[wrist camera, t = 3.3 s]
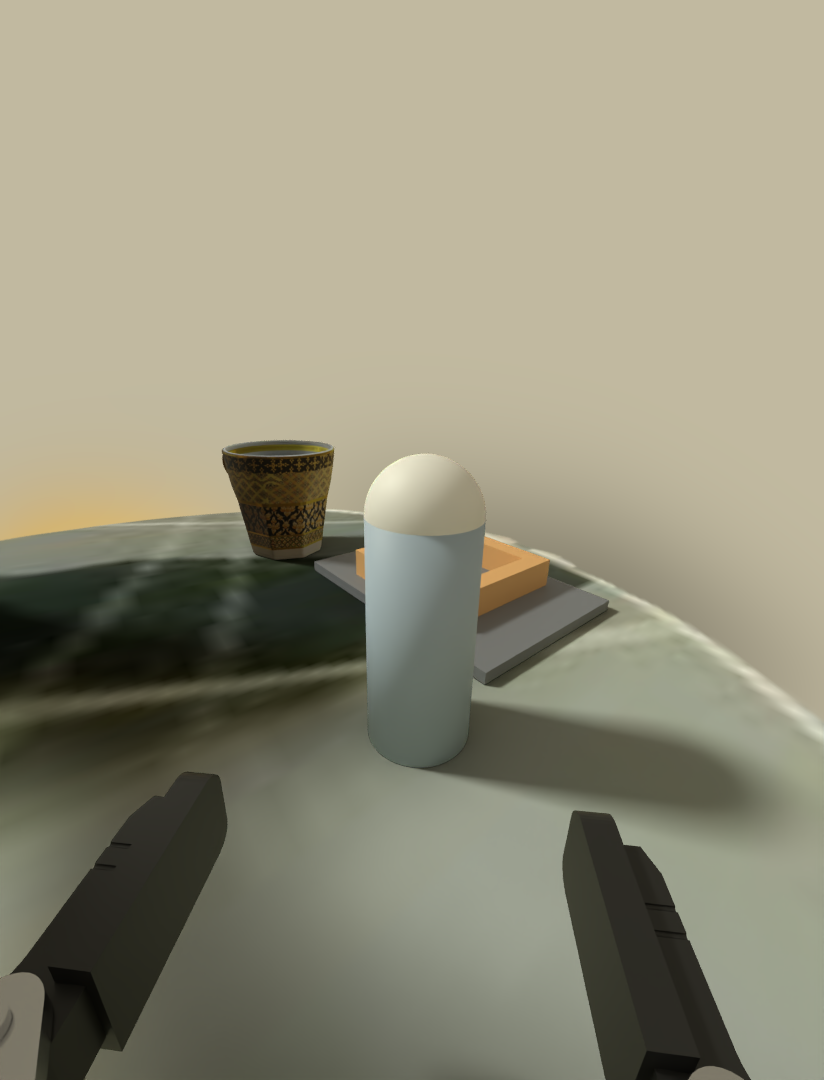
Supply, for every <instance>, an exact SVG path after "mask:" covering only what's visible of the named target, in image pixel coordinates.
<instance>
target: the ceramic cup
mask: <svg viewBox="0 0 824 1080" xmlns="http://www.w3.org/2000/svg"><path fill="white" fill-rule="evenodd" d="M222 454H223V457H222V458H223V459H222V460H223V465H224V468H225V470H226V472H227V473H228V475H229V478H230V482H231V485H232V487H233V490H234V492H235V495H236V497H237V500H238V502H239V506H240V509H241V513H242V516H243V519H244V522H245V526H246V529H247V532H248V535H249V539H250V543H251V545H252V549H253V551H254V553H255V554H256V555H260V556H263V557H267V558H270V559H274V560H279V559H292V558H303V557H306V556H308V555H310V554H312V553H314V552H316V551H318V550H320V548H321V543H322V537H323V526H324V519H325V511H326V503H327V495H328V491H329V486H330V481H331V474H332V467H333V457H334V447H333V446H332V445H329V444H325V443H321V442H312V441H296V440H277V441H257V442H246V443H239V444H234V445H230V446H227V447H225V448H223V449H222Z"/></svg>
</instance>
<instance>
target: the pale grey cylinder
mask: <svg viewBox="0 0 824 1080" xmlns="http://www.w3.org/2000/svg"><path fill="white" fill-rule="evenodd" d="M485 522H486V508H485V501H484V498H483V494H482V492H481V490H480V488H479V486H478V484H477V483H476V481H475V479H474V478H473V477H472V475H471V474H470V473H469V472H468V471H467V470H466V469H465V468H464V467H462V466H461V465H460V464H458V463H457V462H455V461H453V460H451V459H449V458H446V457H443V456H440V455H434V454H415V455H411V456H407V457H404V458H401V459H399V460H397V461H395V462H394V463H392V464H391V465H389V466H388V467H386V468H385V469H384V470H383V471H382V472H381V473H380V474H379V475H378V476H377V478H376V479H375V481H374V482H373V483H372V486H371V488H370V490H369V492H368V494H367V497H366V501H365V506H364V548H365V601H366V653H367V706H368V734H369V738H370V741H371V743H372V744H373V746H374V748H375V749H376V750H377V751H378V752H379V753H380V754H381V755H382V756H384V757H385V758H387V759H388V760H390V761H392V762H394V763H397V764H399V765H403V766H407V767H416V768H423V767H432V766H436V765H440V764H443V763H445V762H447V761H449V760H451V759H452V758H454V757H455V756H456V755H457V754H458V753H459V752H460V751H461V750H462V749H463V747H464V746H465V744H466V741H467V738H468V731H469V719H470V707H471V694H472V682H473V670H474V658H475V646H476V633H477V621H478V609H479V597H480V585H481V572H482V560H483V548H484V536H485Z"/></svg>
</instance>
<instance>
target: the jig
mask: <svg viewBox="0 0 824 1080" xmlns="http://www.w3.org/2000/svg"><path fill="white" fill-rule="evenodd" d="M549 562H550V560H549V559H546V558H543V557H540V556H538V555H535V554H532V553H529V552H526V551H524V550H521V549H518V548H515V547H513V546H510V545H507V544H504V543H501V542H499V541H496V540H493V539H490V538H487V537H485V536H484V548H483V560H482V572H481V585H480V597H479V609H478V621H477V633H476V646H475V658H474V670H473V677H474V678H475V679H477V680H478V681H480V682H481V683H483V684H484V685H485V684H487V683H489V682H490V681H492V680H493V679H495V678H497V677H498V676H500V675H502V674H503V673H505V672H506V671H508V670H510V669H511V668H513V667H515V666H516V665H518V664H520V663H521V662H523V661H524V660H526V659H528V658H529V657H531V656H533V655H534V654H536V653H537V652H539V651H541V650H542V649H544V648H546V647H547V646H549V645H551V644H552V643H554V642H555V641H557V640H559V639H560V638H562V637H564V636H565V635H567V634H568V633H570V632H572V631H573V630H575V629H577V628H578V627H580V626H582V625H583V624H585V623H586V622H588V621H590V620H591V619H593V618H595V617H596V616H598V615H599V614H601V613H603V612H604V611H606V610H607V608H608V603H609V600H606V599H604V598H601V597H599V596H596V595H594V594H591V593H589V592H586V591H583V590H581V589H578V588H576V587H573V586H571V585H568V584H566V583H563V582H560V581H558V580H555V579H553V578H550V577H548V569H549ZM314 565H315V570H316V571H317V572H319V573H320V574H322V575H323V576H325V577H326V578H328V579H329V580H331V581H332V582H333V583H335V584H336V585H338V586H339V587H341V588H342V589H344V590H345V591H347V592H348V593H350V594H351V595H353V596H354V597H356V598H357V599H359V600H360V601H362V602H363V603H365V604H366V601H365V548H361V549H357V550H356V551H353V552H349V553H345V554H341V555H338V556H334V557H330V558H326V559H322V560H319V561H315V562H314Z"/></svg>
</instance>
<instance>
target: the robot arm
mask: <svg viewBox="0 0 824 1080" xmlns="http://www.w3.org/2000/svg"><path fill="white" fill-rule="evenodd" d="M226 832H227V815H226V809H225V803H224V798H223V792H222V786H221V781H220V778H219V776H218V775H215V774H205V773H194V772H184V773H182V774H181V775H180V776H179V777H178V778H177V779H176V781H175V782H174V784H173V785H172V786H171V788H170V789H169V791H168V792H167V794H166V795H165V797H160V796H153V797H152V798H151V799H150V800H149V801H147V802H146V803H145V804H144V805H143V806H141V807H140V808H139V809H138V810H137V811H135V812H134V813H133V814H132V815H131V816H130V817H129V818H128V819H127V821H126V822H125V823H124V825H123V826H122V827H121V829H120V830H119V831H118V833H117V834H116V835H115V837H114V838H113V840H112V841H111V844H110V846H109V847H107V848H106V849H105V850H104V852H103V853H102V854H101V856H100V857H99V858H98V860H97V861H96V863H95V866H94V868H93V869H90V871H89V872H88V873H87V875H86V876H85V877H84V879H83V880H82V881H81V883H80V884H79V886H78V887H77V888H76V890H75V891H74V892H73V894H72V895H71V896H70V898H69V899H68V900H67V902H66V903H65V904H64V906H63V907H62V909H61V910H60V911H59V913H58V914H57V915H56V917H55V918H54V919H53V921H52V922H51V923H50V925H49V926H48V927H47V929H46V930H45V932H44V933H43V934H42V936H41V937H40V938H39V940H38V941H37V942H36V944H35V945H34V946H33V948H32V949H31V950H30V952H29V953H28V954H27V956H26V957H25V958H24V959H23V961H22V962H21V963H20V964H19V965H18V966H17V967H16V968H15V970H14V971H13V972H12V973H11V974H10V975H7V976H5V977H2V978H0V1080H85V1076H86V1074H87V1072H88V1071H89V1069H90V1067H91V1065H92V1063H93V1061H94V1059H95V1057H96V1055H97V1053H98V1052H99V1050H100V1048H102V1049H108V1050H115V1051H123V1049H124V1046H125V1044H126V1042H127V1040H128V1038H129V1036H130V1034H131V1032H132V1030H133V1028H134V1026H135V1024H136V1022H137V1020H138V1018H139V1016H140V1014H141V1012H142V1010H143V1008H144V1006H145V1004H146V1002H147V1000H148V998H149V996H150V994H151V992H152V990H153V988H154V986H155V984H156V982H157V980H158V977H159V975H160V973H161V971H162V969H163V967H164V965H165V963H166V961H167V959H168V957H169V955H170V953H171V951H172V949H173V947H174V945H175V943H176V941H177V939H178V937H179V935H180V933H181V931H182V929H183V927H184V925H185V923H186V921H187V919H188V917H189V915H190V913H191V910H192V908H193V906H194V904H195V902H196V900H197V898H198V896H199V894H200V892H201V890H202V888H203V886H204V884H205V882H206V880H207V878H208V876H209V874H210V872H211V870H212V868H213V866H214V864H215V862H216V860H217V858H218V856H219V854H220V851H221V849H222V847H223V844H224V841H225V837H226ZM563 881H564V888H565V894H566V898H567V903H568V908H569V912H570V917H571V921H572V926H573V931H574V935H575V940H576V945H577V949H578V954H579V959H580V963H581V968H582V972H583V977H584V982H585V986H586V991H587V996H588V1000H589V1005H590V1010H591V1014H592V1019H593V1024H594V1028H595V1033H596V1037H597V1042H598V1047H599V1051H600V1056H601V1061H602V1065H603V1070H604V1075H605V1079H606V1080H751V1079H750V1078H749V1076H748V1074H747V1072H746V1071H745V1069H744V1067H743V1065H742V1064H741V1062H740V1059H739V1057H738V1055H737V1053H736V1051H735V1048H734V1046H733V1044H732V1041H731V1039H730V1037H729V1034H728V1032H727V1029H726V1027H725V1025H724V1022H723V1020H722V1017H721V1015H720V1013H719V1010H718V1008H717V1005H716V1003H715V1001H714V998H713V996H712V993H711V991H710V989H709V986H708V984H707V981H706V979H705V977H704V974H703V972H702V969H701V967H700V965H699V962H698V960H697V958H696V955H695V953H694V950H693V948H692V946H691V943H690V941H689V940H688V939H687V937H686V931H685V929H684V926H683V924H682V922H681V919H680V917H679V914H678V913H677V912H676V911H675V905H674V902H673V900H672V898H671V895H670V893H669V890H668V888H667V886H666V883H665V881H664V878H663V876H662V874H661V873H660V871H659V870H658V869H657V868H656V866H655V865H654V864H653V862H652V861H651V860H650V859H649V857H648V856H647V855H646V853H645V852H644V851H643V850H642V848H641V847H638V846H628V845H623V842H622V839H621V837H620V834H619V831H618V828H617V826H616V823H615V821H614V819H613V817H612V816H611V815H610V814H606V813H596V812H585V811H573V813H572V816H571V820H570V825H569V830H568V835H567V840H566V845H565V850H564V854H563Z"/></svg>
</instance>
